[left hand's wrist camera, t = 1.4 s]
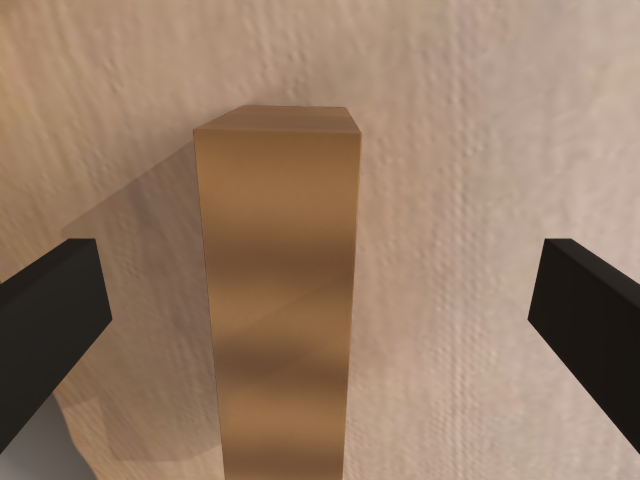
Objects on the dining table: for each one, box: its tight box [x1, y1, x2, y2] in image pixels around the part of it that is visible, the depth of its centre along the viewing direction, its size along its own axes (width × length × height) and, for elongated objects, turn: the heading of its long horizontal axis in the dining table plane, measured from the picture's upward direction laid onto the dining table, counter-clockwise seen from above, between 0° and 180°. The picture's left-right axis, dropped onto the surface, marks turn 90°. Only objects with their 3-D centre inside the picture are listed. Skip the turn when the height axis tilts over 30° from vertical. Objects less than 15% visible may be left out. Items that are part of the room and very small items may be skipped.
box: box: [193, 105, 362, 480], centre depth 24 cm, size 21×6×11 cm, turn 179°
